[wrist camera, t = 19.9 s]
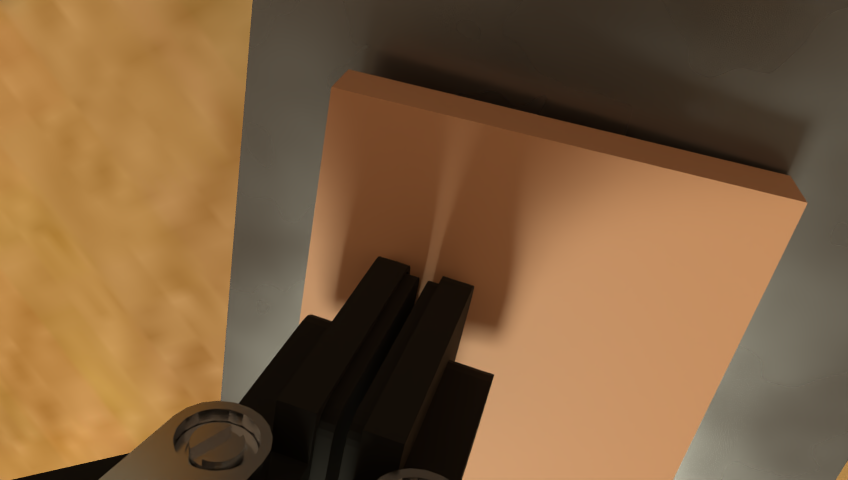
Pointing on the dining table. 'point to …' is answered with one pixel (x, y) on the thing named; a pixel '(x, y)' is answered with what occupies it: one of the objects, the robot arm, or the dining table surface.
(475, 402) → the robot arm
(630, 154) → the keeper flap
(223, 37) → the dining table surface
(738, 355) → the block
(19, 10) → the dining table surface
